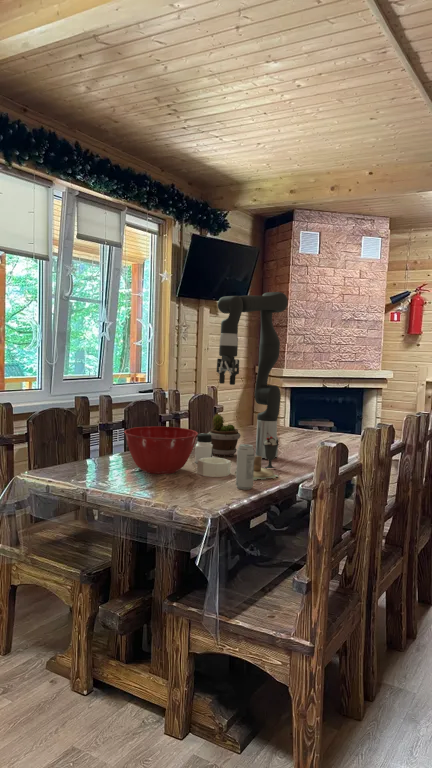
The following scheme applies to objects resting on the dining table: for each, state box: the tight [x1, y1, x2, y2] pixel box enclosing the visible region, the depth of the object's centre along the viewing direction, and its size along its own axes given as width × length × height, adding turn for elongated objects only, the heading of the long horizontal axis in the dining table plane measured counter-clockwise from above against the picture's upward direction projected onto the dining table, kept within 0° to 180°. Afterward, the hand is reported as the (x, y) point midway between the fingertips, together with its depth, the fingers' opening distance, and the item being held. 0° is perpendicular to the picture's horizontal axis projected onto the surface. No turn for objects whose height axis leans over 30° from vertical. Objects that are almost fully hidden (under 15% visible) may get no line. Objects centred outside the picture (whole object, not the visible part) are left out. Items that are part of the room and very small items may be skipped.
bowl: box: [196, 456, 232, 478], centre depth 214 cm, size 12×12×5 cm
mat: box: [235, 471, 280, 481], centre depth 213 cm, size 12×12×1 cm
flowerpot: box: [207, 410, 242, 458], centre depth 253 cm, size 14×15×20 cm
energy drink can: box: [235, 443, 256, 491], centre depth 192 cm, size 6×6×15 cm
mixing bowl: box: [123, 425, 199, 475], centre depth 214 cm, size 28×28×16 cm
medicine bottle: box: [194, 433, 213, 464], centre depth 236 cm, size 7×7×12 cm
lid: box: [253, 455, 275, 478], centre depth 213 cm, size 13×13×7 cm
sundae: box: [263, 433, 280, 468], centre depth 227 cm, size 7×7×15 cm
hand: (226, 384), depth 228 cm, fingers open, 8 cm apart
